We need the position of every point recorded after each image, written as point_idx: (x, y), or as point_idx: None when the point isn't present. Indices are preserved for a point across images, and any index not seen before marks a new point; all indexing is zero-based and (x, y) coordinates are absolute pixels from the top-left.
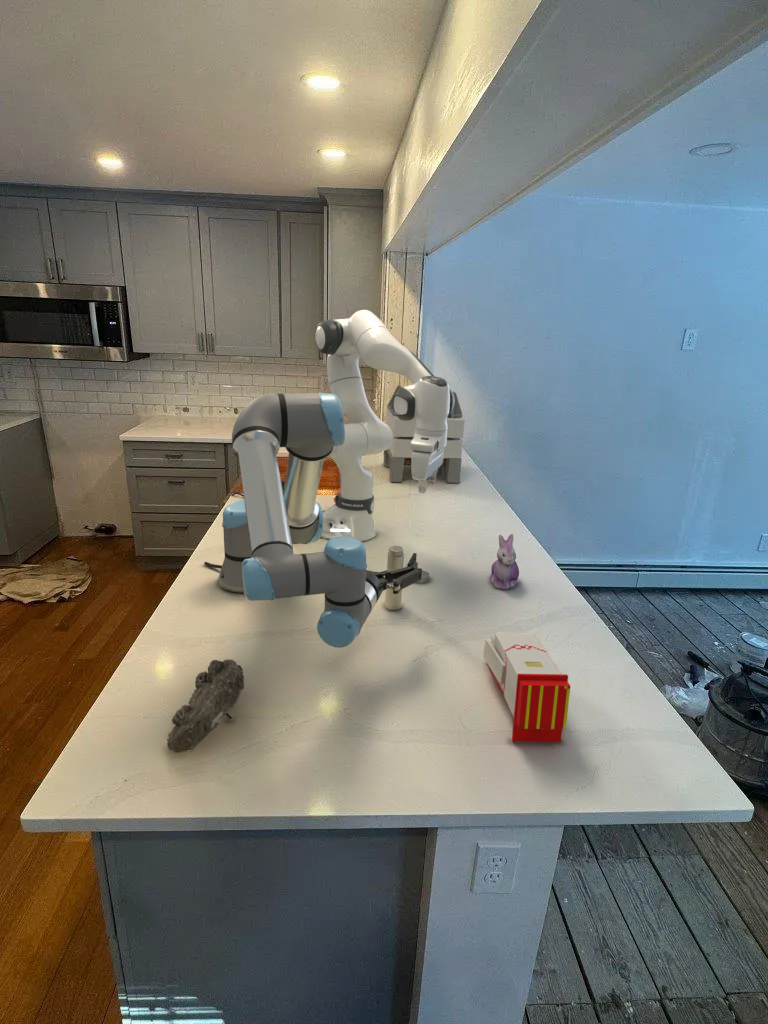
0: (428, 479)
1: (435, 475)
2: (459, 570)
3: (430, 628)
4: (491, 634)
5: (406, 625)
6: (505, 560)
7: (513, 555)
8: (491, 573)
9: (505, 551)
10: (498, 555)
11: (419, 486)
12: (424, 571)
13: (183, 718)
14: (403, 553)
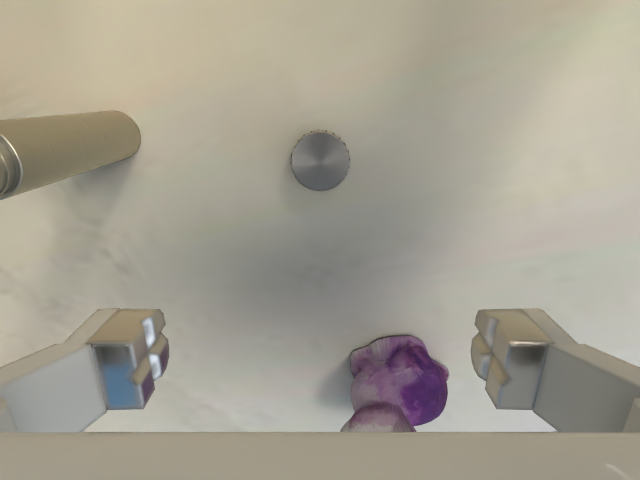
0: (495, 332)
1: (557, 429)
2: (425, 251)
3: (74, 256)
4: None
5: (50, 200)
6: None
7: None
8: (407, 342)
9: None
10: (360, 420)
11: (63, 349)
12: (343, 168)
13: None
14: (7, 194)
